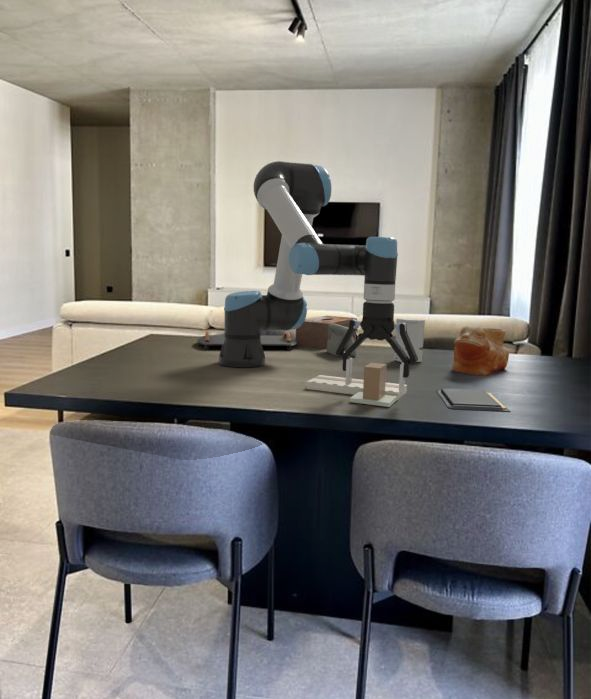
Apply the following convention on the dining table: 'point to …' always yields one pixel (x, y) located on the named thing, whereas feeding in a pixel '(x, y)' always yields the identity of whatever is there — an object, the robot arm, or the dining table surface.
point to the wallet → (471, 400)
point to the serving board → (265, 339)
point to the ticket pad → (348, 386)
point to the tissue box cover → (319, 330)
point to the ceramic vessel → (480, 351)
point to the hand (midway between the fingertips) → (374, 387)
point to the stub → (374, 387)
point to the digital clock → (338, 339)
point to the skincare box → (411, 336)
